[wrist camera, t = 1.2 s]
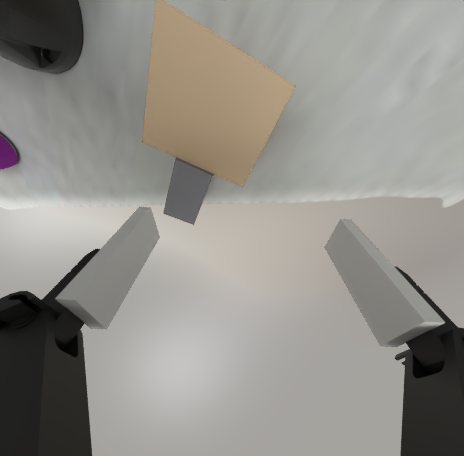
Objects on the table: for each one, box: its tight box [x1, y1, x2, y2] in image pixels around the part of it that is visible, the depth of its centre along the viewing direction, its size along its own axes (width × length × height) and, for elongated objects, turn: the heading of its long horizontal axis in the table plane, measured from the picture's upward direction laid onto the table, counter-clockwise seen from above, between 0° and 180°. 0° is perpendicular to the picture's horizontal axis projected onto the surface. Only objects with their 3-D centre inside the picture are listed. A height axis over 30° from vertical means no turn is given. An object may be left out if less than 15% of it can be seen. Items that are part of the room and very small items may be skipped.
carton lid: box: [142, 0, 295, 225], centre depth 21 cm, size 14×21×2 cm, turn 156°
